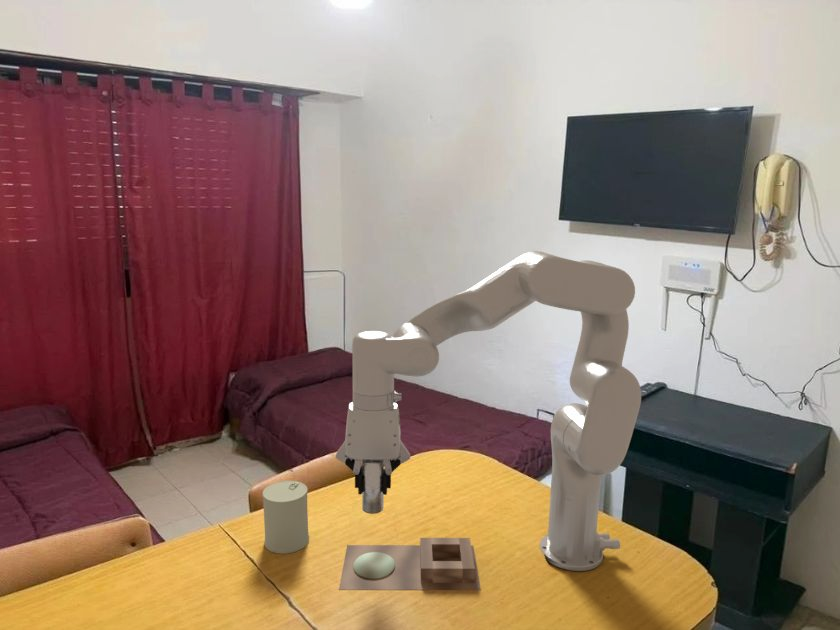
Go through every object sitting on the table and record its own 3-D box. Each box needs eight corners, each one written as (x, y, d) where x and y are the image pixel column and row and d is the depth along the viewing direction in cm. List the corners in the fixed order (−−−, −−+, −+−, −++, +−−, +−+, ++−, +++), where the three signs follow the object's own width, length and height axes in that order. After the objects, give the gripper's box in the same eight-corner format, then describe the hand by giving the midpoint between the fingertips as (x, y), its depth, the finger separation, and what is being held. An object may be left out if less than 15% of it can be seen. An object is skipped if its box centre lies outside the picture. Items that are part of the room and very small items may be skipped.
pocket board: (473, 549, 124) (473, 532, 123) (480, 594, 110) (481, 575, 109) (347, 549, 123) (346, 531, 123) (339, 594, 110) (338, 575, 109)
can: (318, 535, 128) (316, 484, 126) (290, 558, 120) (288, 504, 118) (284, 524, 132) (282, 474, 130) (255, 546, 124) (252, 493, 122)
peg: (383, 503, 116) (384, 454, 114) (382, 513, 112) (383, 464, 110) (363, 502, 116) (363, 454, 114) (361, 513, 112) (361, 464, 110)
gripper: (418, 392, 113) (417, 482, 117) (330, 391, 113) (331, 481, 117) (419, 407, 106) (417, 501, 110) (324, 405, 106) (325, 500, 109)
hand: (372, 490), depth 113 cm, fingers closed on peg, 4 cm apart
